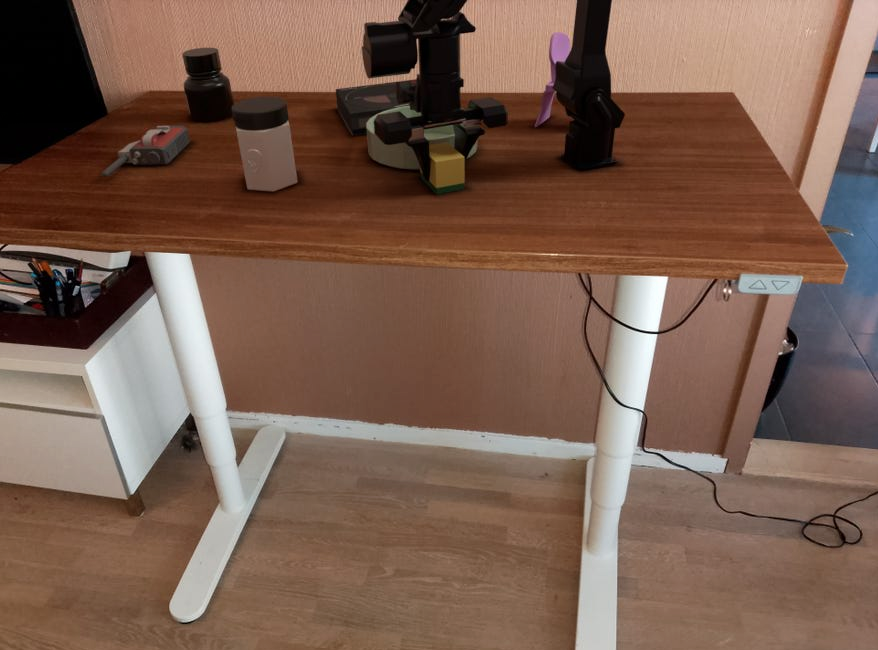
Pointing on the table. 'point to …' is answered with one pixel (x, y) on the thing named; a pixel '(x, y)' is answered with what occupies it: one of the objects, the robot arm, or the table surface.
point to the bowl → (402, 152)
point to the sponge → (445, 169)
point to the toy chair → (553, 72)
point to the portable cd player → (366, 104)
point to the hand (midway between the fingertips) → (442, 177)
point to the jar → (265, 143)
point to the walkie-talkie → (153, 148)
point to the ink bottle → (206, 85)
